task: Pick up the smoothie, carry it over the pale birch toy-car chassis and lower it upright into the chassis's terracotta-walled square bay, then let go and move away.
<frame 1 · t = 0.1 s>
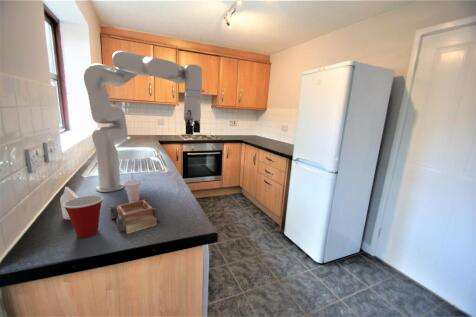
hand: (193, 133, 100), 31 cm above the counter, tool pointing down, fingers open, 9 cm apart
smoothie: (133, 203, 97), on the counter
plastic cup: (87, 233, 73), on the counter
chassis: (134, 219, 83), on the counter
roll: (72, 216, 83), on the counter
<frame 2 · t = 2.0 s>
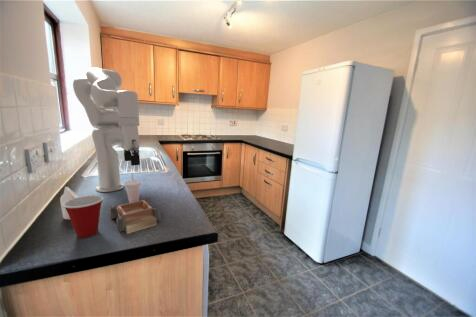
hand: (132, 162, 92), 19 cm above the counter, tool pointing down, fingers open, 9 cm apart
nothing on the counter moved.
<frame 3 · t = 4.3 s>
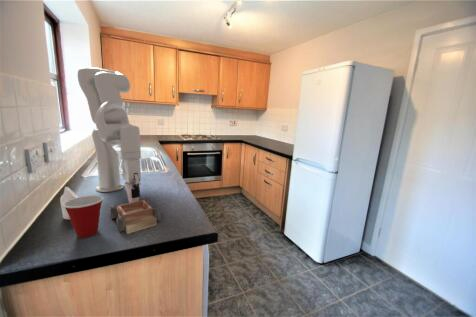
hand: (133, 194, 96), 4 cm above the counter, tool pointing down, fingers closed on smoothie, 6 cm apart
smoothie: (133, 203, 97), on the counter, touching gripper
everything else where it was.
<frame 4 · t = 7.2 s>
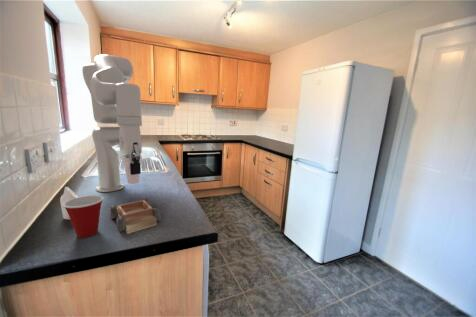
hand: (132, 171, 78), 19 cm above the counter, tool pointing down, fingers closed on smoothie, 6 cm apart
smoothie: (133, 182, 79), point 15 cm above the counter, touching gripper
everything else where it was.
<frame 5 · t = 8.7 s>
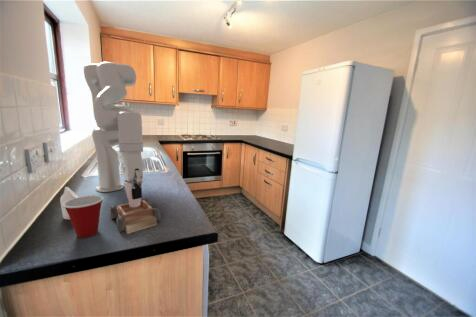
hand: (134, 195, 80), 10 cm above the counter, tool pointing down, fingers closed on smoothie, 6 cm apart
smoothie: (134, 205, 81), point 6 cm above the counter, touching gripper
everything else where it was.
when the fingers open (7 cm above the counter, at t = 10.2 s): smoothie stays where it is, resting on chassis.
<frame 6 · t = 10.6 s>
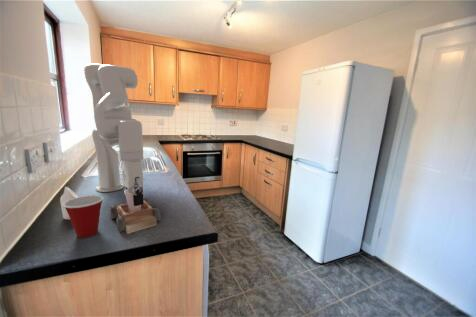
hand: (134, 200, 81), 8 cm above the counter, tool pointing down, fingers open, 9 cm apart
smoothie: (135, 214, 82), point 2 cm above the counter, touching chassis
everything else where it was.
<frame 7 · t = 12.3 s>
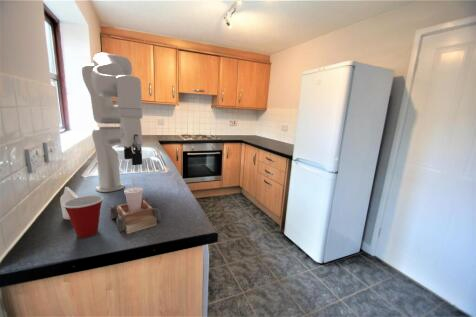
hand: (133, 161, 79), 22 cm above the counter, tool pointing down, fingers open, 9 cm apart
nothing on the counter moved.
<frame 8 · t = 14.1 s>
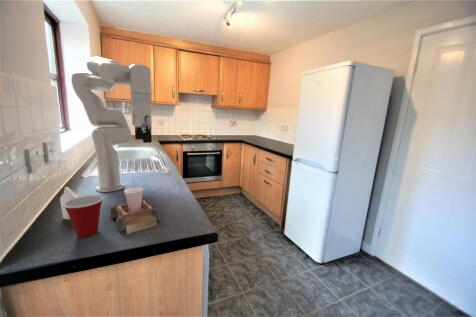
hand: (143, 140, 90), 28 cm above the counter, tool pointing down, fingers open, 9 cm apart
nothing on the counter moved.
at the end: smoothie 0.3 cm from the target spot on the chassis, point 2.2 cm above the chassis's base; smoothie tilted 0°; the gripper is holding nothing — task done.
